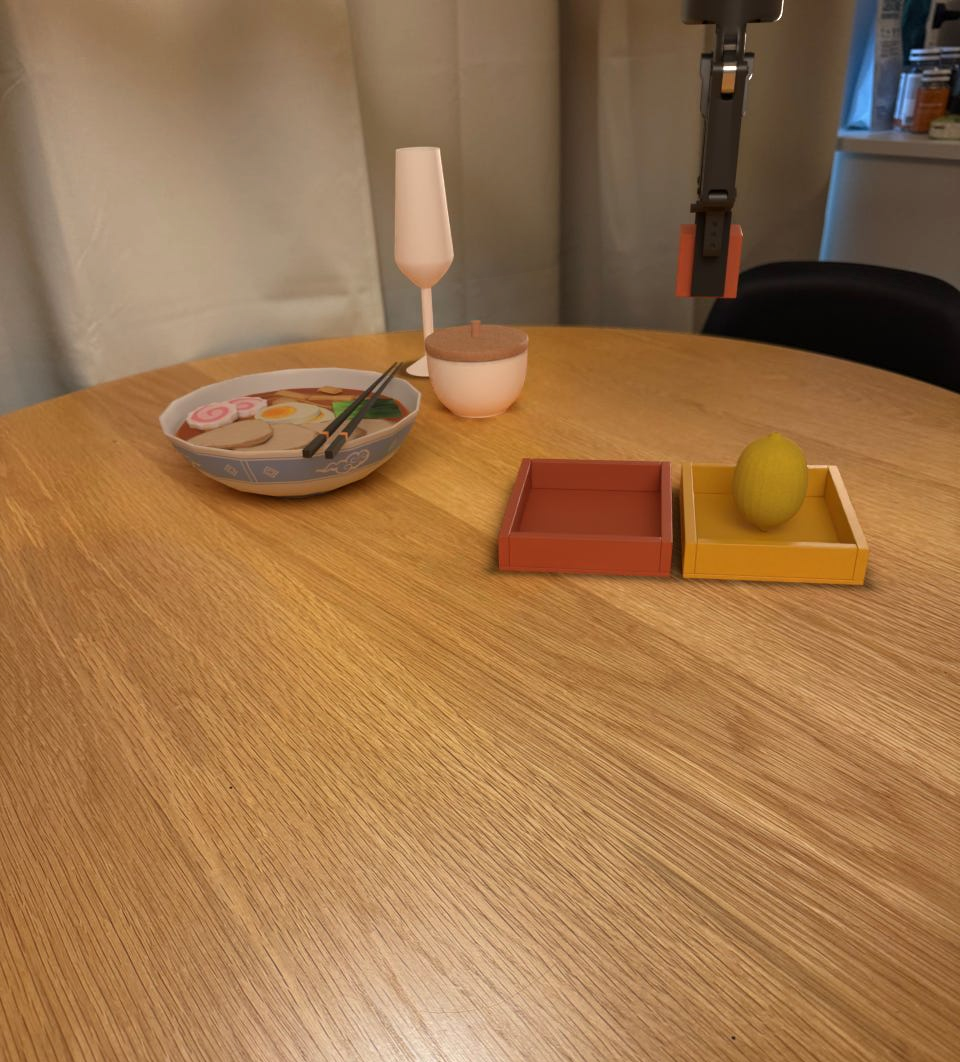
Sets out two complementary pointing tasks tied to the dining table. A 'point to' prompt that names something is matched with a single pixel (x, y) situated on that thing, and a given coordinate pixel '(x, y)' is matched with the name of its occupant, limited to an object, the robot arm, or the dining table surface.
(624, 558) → the terracotta tray
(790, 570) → the yellow tray
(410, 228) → the champagne flute
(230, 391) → the ramen bowl
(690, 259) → the block
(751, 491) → the lemon
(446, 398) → the lidded sugar bowl
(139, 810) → the dining table surface
